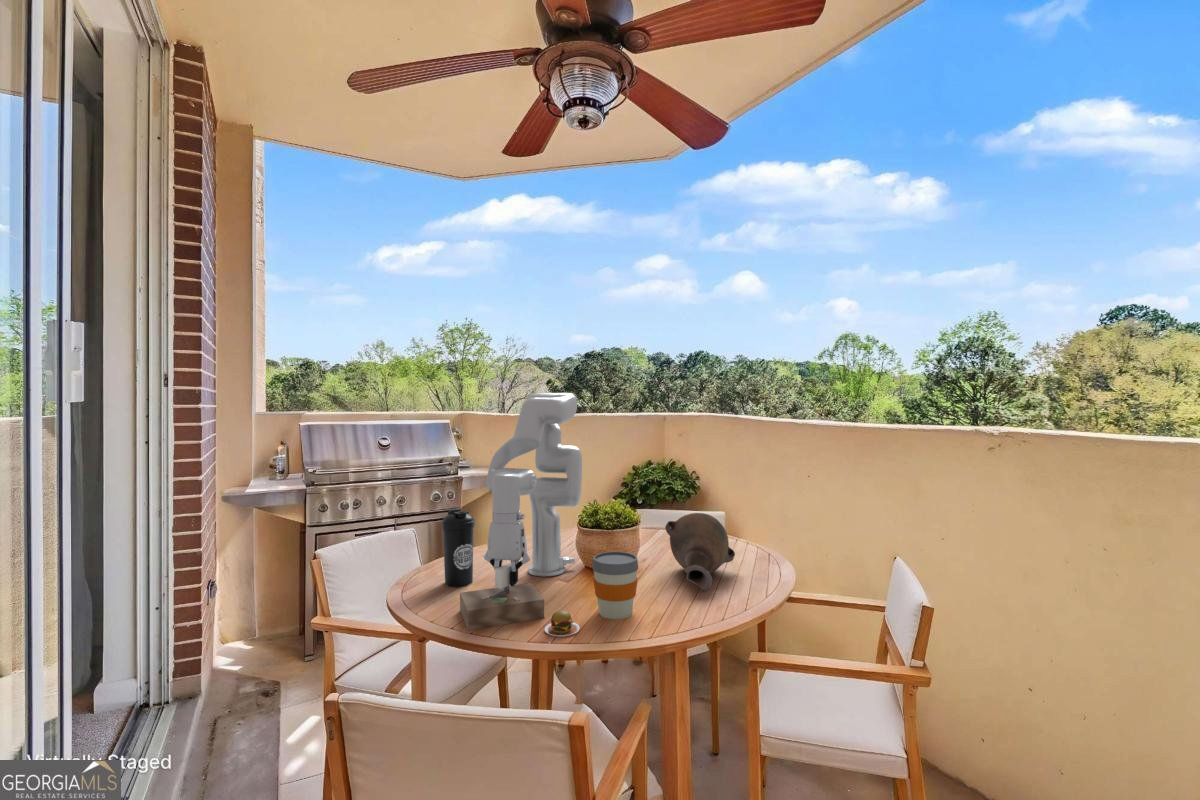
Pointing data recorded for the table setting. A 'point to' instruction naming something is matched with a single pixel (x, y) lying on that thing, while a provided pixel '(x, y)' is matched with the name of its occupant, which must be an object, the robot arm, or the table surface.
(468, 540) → the water bottle
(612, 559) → the reusable coffee cup
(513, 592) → the brown slab
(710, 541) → the jug
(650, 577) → the table surface
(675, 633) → the table surface
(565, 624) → the hamburger
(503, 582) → the peg
